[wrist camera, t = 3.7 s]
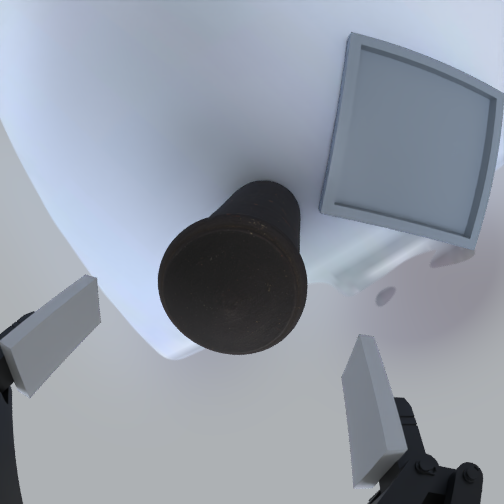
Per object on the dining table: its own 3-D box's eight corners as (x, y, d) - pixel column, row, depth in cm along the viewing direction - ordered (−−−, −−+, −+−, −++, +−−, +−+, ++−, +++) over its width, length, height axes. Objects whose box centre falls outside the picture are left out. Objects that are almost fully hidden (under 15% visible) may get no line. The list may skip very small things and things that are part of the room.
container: (208, 207, 35) (121, 281, 17) (272, 160, 33) (243, 185, 14) (253, 265, 37) (214, 383, 19) (317, 224, 34) (341, 321, 16)
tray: (318, 208, 34) (320, 213, 31) (347, 39, 27) (351, 32, 24) (464, 243, 32) (473, 250, 30) (493, 95, 25) (504, 93, 23)
